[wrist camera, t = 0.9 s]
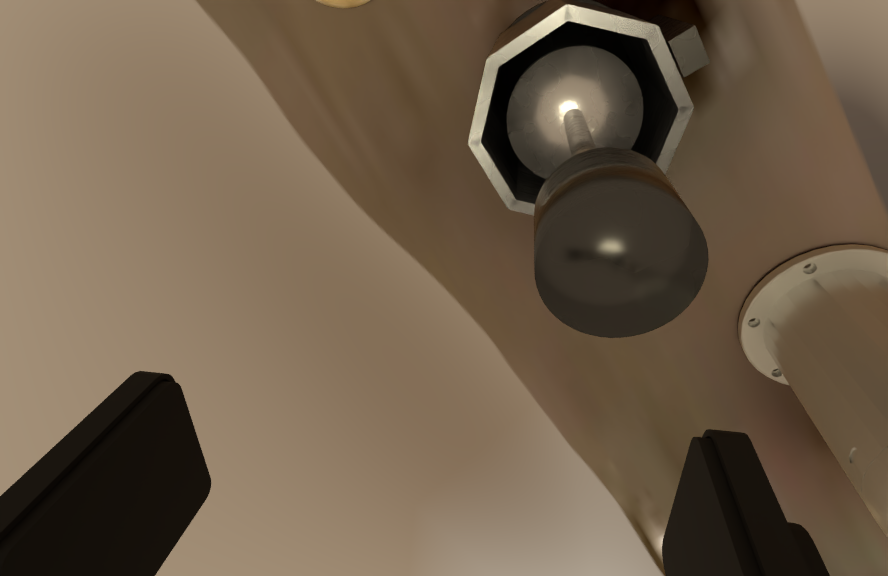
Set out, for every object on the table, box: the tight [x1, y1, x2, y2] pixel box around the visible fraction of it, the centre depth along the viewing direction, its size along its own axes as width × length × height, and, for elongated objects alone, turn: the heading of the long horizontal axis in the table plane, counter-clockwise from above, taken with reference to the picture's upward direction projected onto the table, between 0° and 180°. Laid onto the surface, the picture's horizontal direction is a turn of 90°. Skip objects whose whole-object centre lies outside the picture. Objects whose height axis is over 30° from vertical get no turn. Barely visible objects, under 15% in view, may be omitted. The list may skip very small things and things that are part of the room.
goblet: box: [507, 45, 708, 338], centre depth 20 cm, size 7×7×16 cm
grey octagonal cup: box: [468, 0, 710, 215], centre depth 30 cm, size 10×11×12 cm
